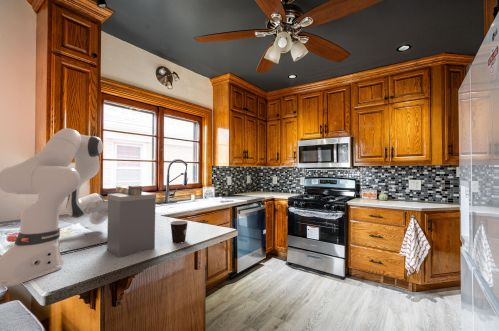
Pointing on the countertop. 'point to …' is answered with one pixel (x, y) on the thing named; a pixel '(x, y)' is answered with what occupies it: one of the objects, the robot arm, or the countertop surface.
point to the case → (131, 223)
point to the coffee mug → (178, 231)
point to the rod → (130, 190)
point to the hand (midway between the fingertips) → (112, 199)
